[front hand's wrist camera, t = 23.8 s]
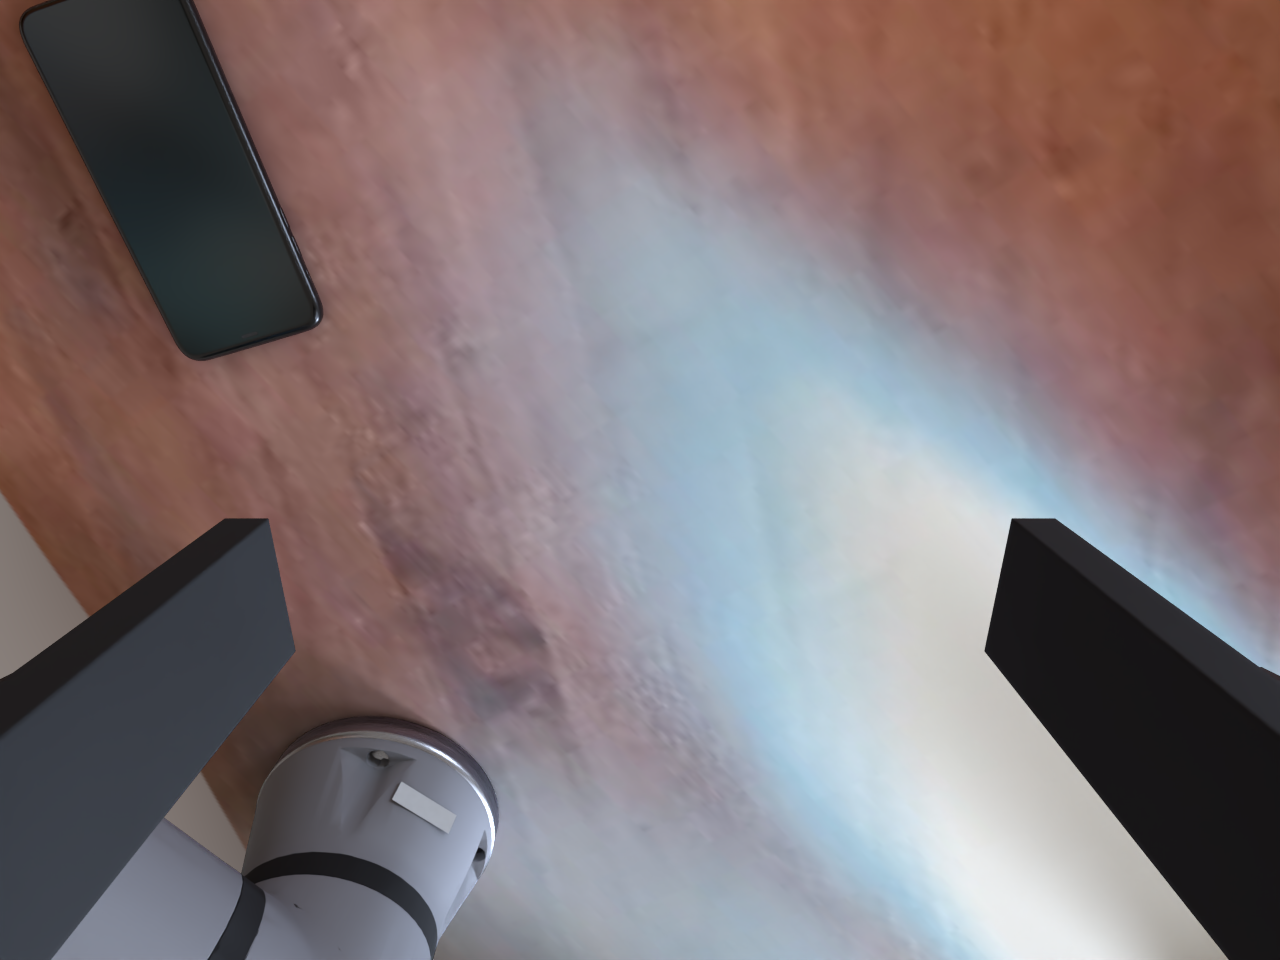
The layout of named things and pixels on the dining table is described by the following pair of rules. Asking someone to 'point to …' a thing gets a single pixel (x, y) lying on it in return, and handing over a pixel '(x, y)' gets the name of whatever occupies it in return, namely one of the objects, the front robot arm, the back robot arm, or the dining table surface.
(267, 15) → the dining table surface
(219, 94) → the smartphone
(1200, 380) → the dining table surface
